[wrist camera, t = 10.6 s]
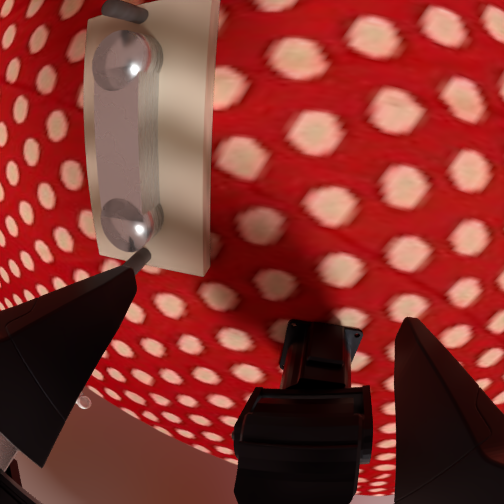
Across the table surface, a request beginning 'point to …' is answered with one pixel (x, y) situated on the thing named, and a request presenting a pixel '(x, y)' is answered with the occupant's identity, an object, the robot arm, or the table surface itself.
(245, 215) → the table surface
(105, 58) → the grey baby rattle
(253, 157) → the table surface
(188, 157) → the peg rack
